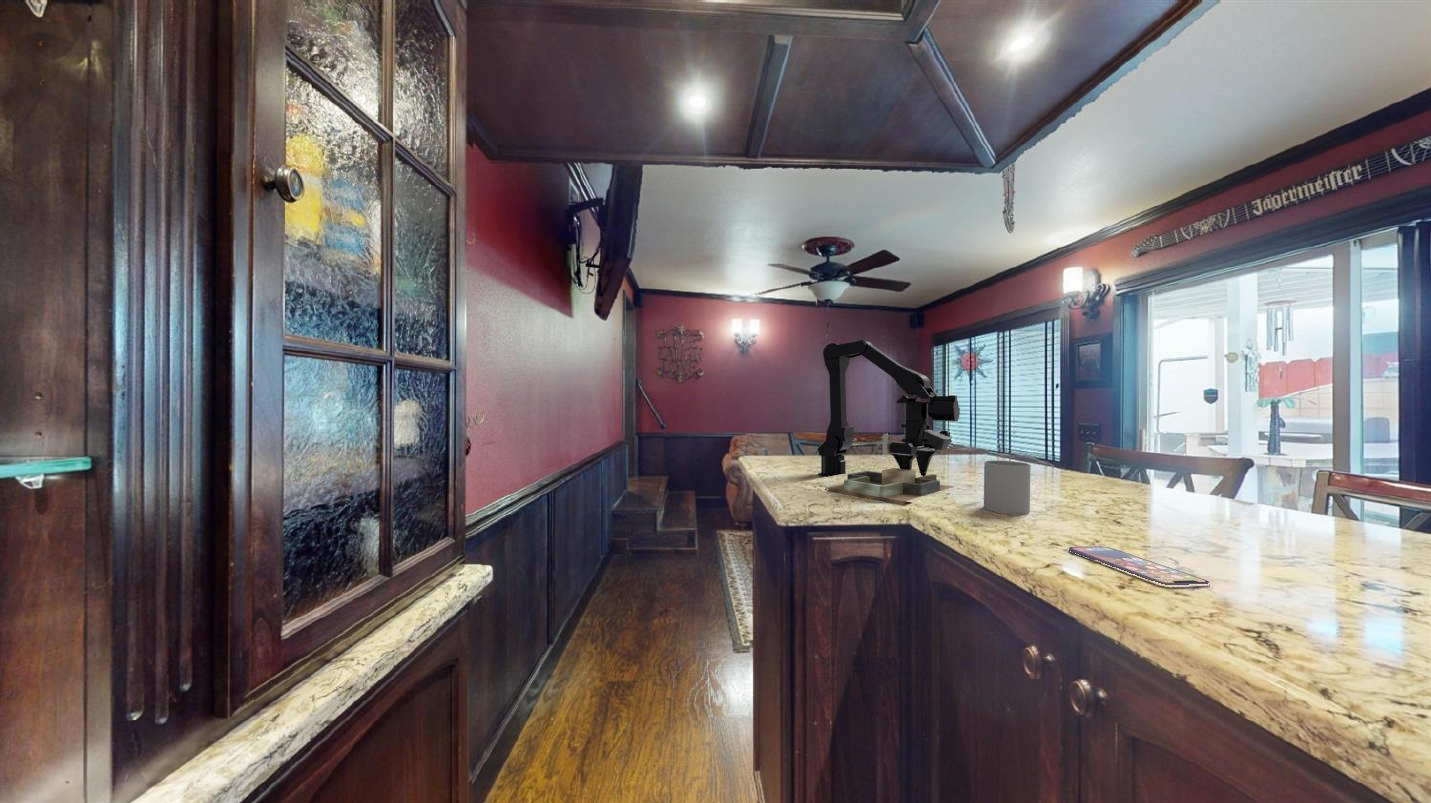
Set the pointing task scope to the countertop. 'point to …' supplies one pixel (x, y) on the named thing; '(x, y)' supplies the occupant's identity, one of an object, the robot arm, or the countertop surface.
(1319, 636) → the countertop surface
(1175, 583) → the smartphone
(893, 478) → the maple block
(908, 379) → the robot arm
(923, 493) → the trap lane
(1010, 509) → the cup
